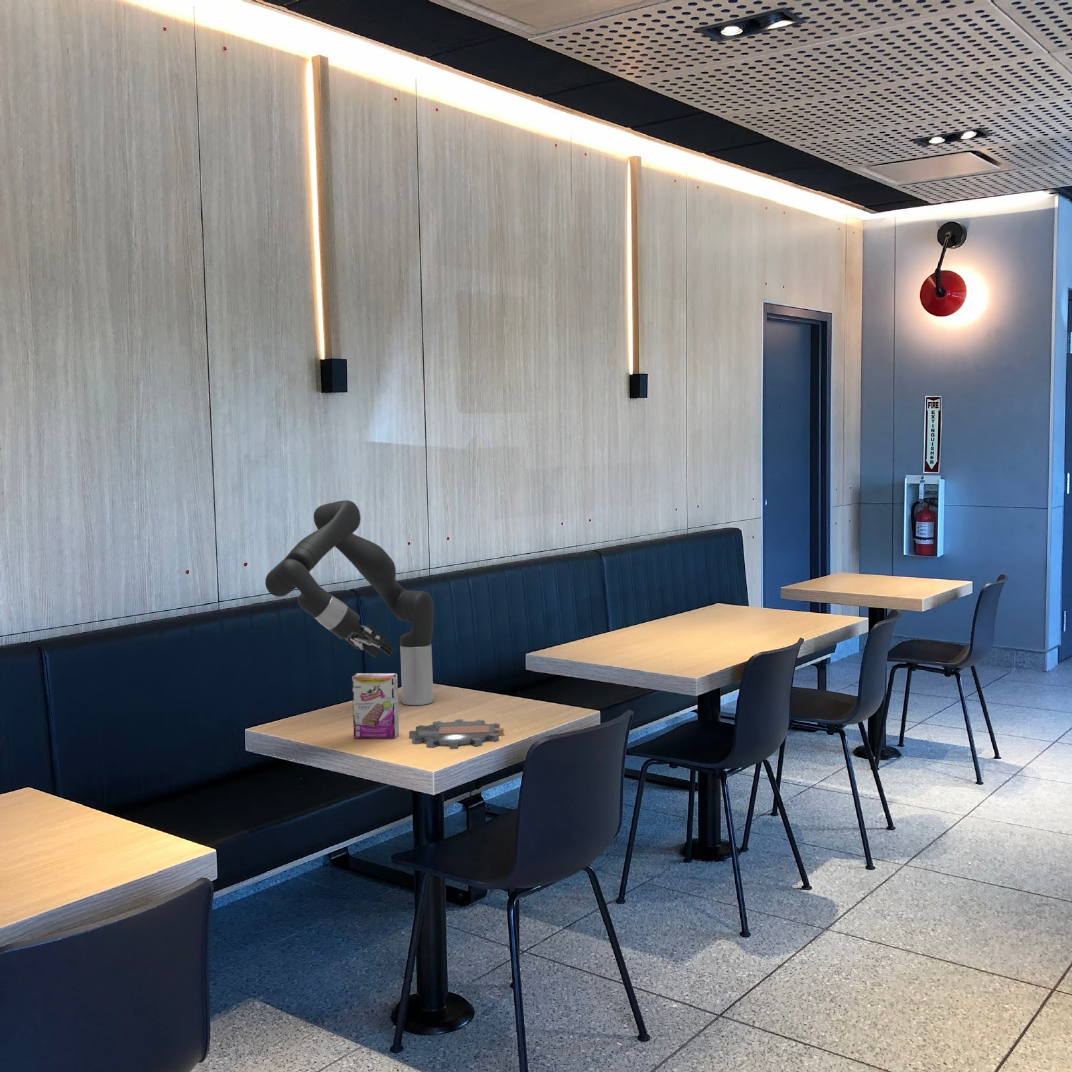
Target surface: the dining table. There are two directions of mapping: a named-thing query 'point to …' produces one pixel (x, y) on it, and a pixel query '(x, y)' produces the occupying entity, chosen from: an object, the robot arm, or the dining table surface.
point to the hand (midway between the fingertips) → (384, 653)
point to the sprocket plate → (456, 733)
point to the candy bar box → (375, 705)
